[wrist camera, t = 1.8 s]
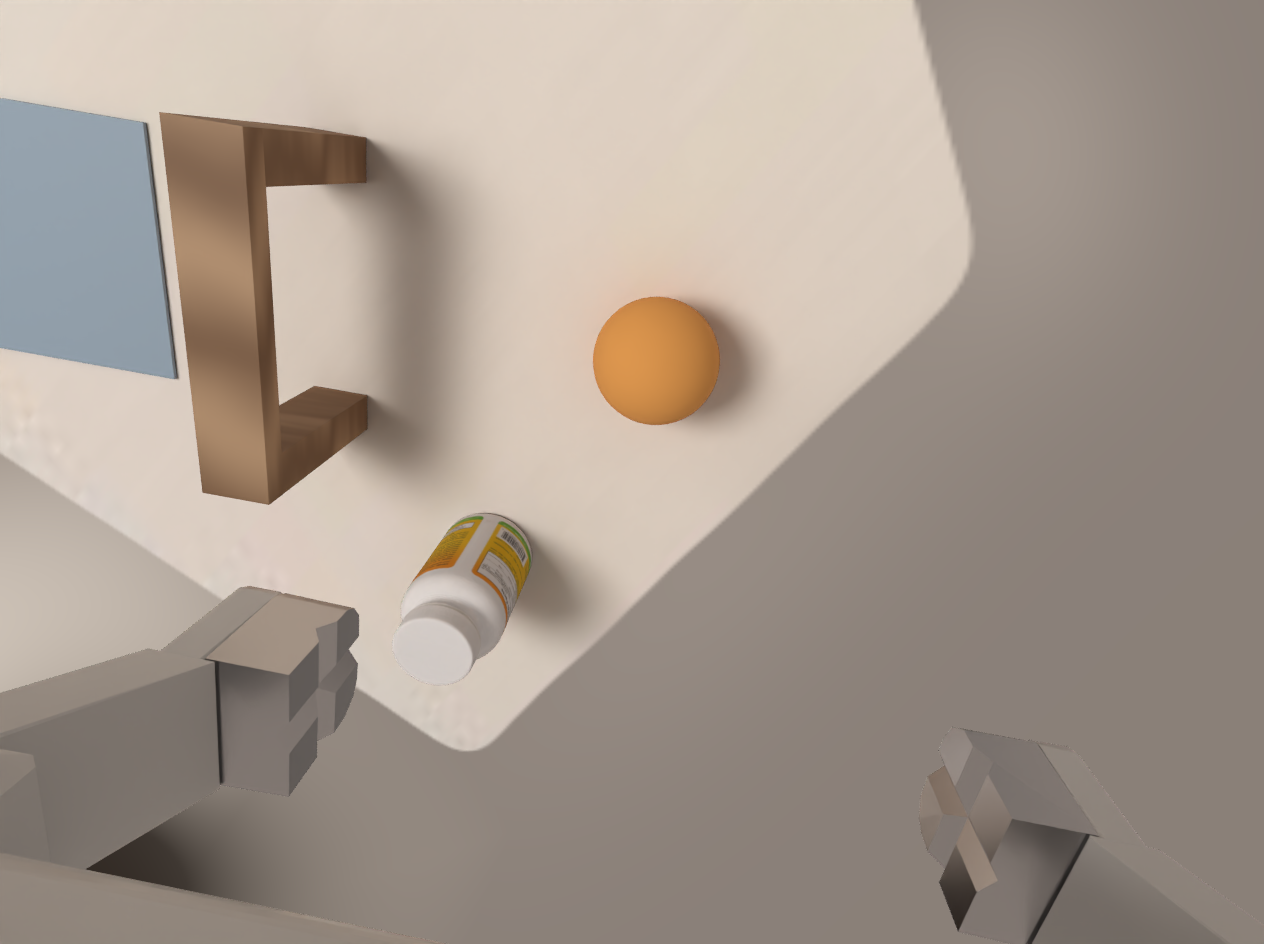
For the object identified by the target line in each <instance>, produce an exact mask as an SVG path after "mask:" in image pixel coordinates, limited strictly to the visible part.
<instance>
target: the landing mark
mask: <svg viewBox="0 0 1264 944" xmlns="http://www.w3.org/2000/svg"><path fill="white" fill-rule="evenodd" d="M0 348H4V349H10V350H15V351H21V352H26V353H32V354H37V355H43V356H48V357H54V358H60V359H65V360H71V361H76V362H82V363H87V364H93V365H99V366H104V367H110V368H115V369H121V370H126V371H132V372H137V373H143V374H149V375H154V376H160V377H165V378H171V379H176V378H177V375H176V367H175V359H174V351H173V343H172V334H171V326H170V318H169V310H168V302H167V293H166V285H165V277H164V269H163V260H162V252H161V244H160V236H159V228H158V219H157V211H156V203H155V195H154V187H153V178H152V170H151V162H150V154H149V145H148V137H147V129H146V123H144V122H138V121H132V120H126V119H120V118H114V117H109V116H103V115H97V114H91V113H85V112H79V111H73V110H67V109H62V108H56V107H50V106H44V105H38V104H32V103H26V102H20V101H15V100H9V99H3V98H0Z"/></svg>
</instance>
